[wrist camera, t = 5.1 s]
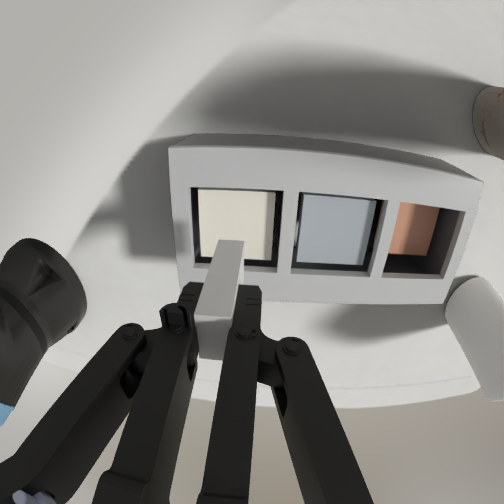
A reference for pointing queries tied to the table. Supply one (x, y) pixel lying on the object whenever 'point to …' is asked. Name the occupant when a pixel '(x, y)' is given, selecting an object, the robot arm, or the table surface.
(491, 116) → the thermos bottle
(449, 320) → the white milk bottle
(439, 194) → the keypad housing
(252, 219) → the key ivory
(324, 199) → the key slate
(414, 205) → the key terracotta
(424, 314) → the table surface
